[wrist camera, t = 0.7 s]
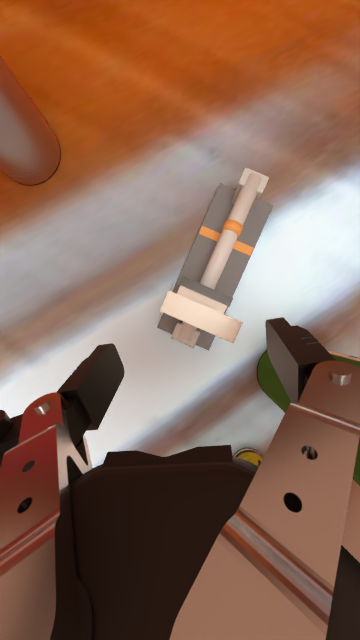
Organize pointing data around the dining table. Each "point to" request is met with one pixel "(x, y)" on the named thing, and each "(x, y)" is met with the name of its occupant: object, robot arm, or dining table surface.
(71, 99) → the dining table surface
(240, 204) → the pipe stand
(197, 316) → the peach lever handle
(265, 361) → the wine bottle
